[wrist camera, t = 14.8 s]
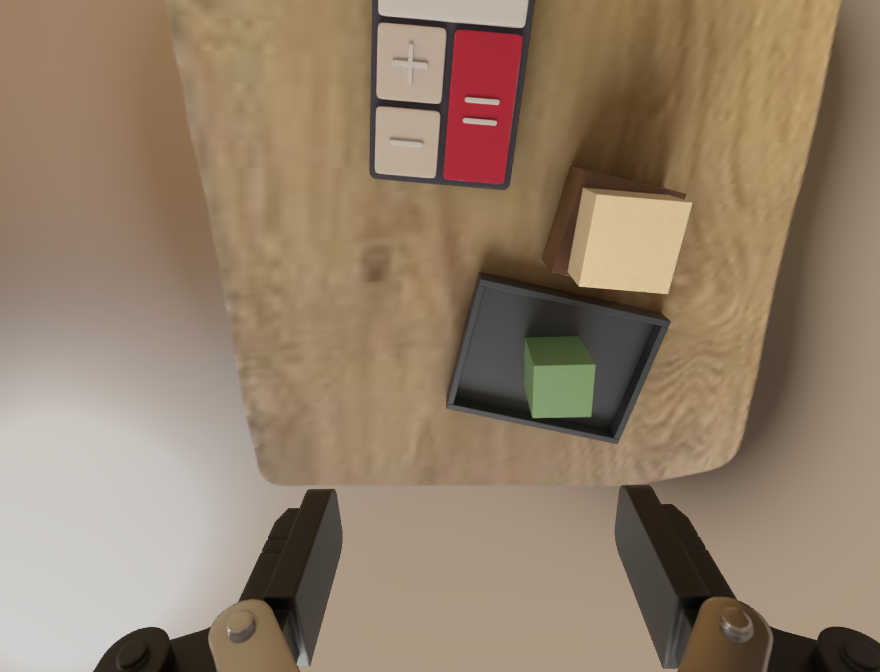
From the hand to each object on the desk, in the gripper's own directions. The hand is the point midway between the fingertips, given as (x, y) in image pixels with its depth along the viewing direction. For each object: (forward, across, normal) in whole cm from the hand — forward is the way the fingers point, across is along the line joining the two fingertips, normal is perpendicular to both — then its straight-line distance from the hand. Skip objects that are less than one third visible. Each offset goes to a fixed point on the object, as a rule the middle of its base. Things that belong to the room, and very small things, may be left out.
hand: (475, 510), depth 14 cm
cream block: (+28, -12, -2) cm, 30 cm away
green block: (+32, -8, +10) cm, 34 cm away
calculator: (+32, +1, -14) cm, 35 cm away
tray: (+32, -8, +10) cm, 35 cm away
